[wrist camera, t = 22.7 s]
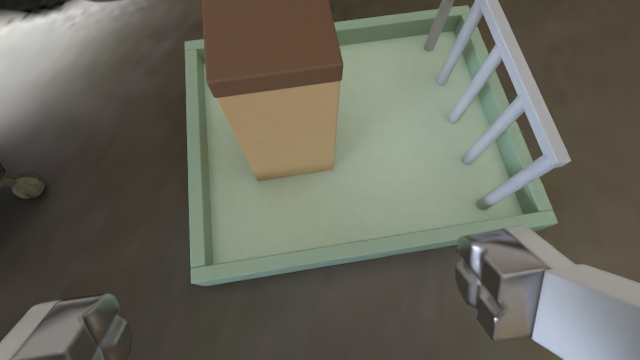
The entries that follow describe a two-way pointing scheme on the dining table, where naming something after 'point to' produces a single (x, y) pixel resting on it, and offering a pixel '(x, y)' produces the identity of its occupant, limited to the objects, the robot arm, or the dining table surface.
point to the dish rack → (379, 153)
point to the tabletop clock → (23, 184)
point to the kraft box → (276, 80)
